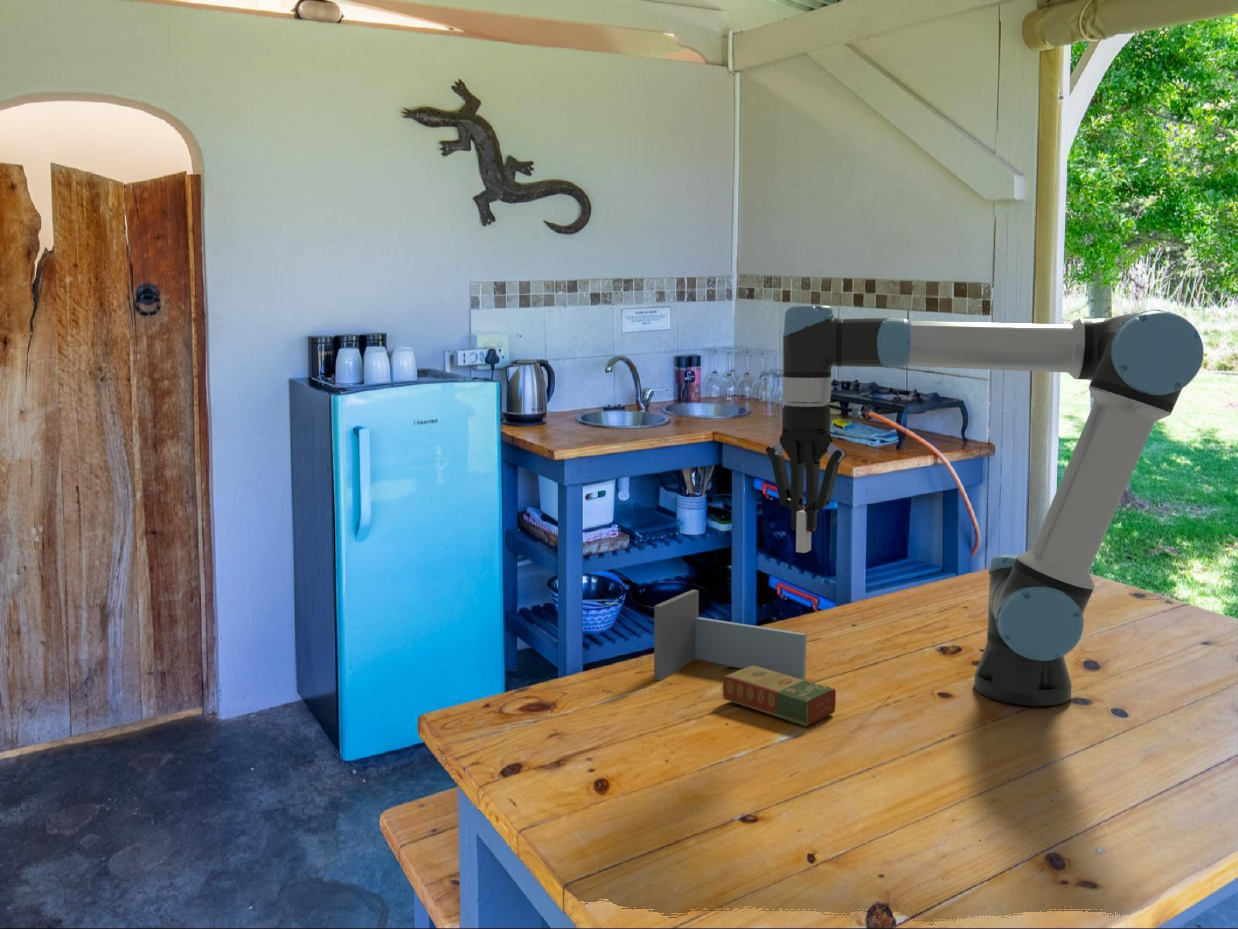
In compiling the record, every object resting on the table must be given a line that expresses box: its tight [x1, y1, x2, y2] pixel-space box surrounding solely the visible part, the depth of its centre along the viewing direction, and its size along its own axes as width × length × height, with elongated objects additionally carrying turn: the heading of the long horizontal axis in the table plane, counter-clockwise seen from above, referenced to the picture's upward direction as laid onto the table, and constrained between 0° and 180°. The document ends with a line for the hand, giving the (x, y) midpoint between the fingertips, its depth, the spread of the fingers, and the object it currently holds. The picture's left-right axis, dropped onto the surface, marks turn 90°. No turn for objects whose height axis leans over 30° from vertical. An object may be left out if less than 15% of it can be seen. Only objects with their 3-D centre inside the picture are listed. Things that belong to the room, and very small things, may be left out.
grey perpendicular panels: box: [653, 589, 807, 682], centre depth 181 cm, size 22×14×13 cm, turn 58°
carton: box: [722, 665, 837, 727], centre depth 166 cm, size 8×16×4 cm, turn 46°
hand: (803, 550), depth 170 cm, fingers closed
